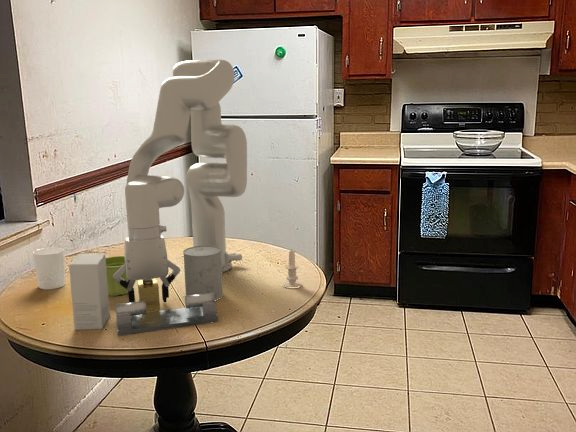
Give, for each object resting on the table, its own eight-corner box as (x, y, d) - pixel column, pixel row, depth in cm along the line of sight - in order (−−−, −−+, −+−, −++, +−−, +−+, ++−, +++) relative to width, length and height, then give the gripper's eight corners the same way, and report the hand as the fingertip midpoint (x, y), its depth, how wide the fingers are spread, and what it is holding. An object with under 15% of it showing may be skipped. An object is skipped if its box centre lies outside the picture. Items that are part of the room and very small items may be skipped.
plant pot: (123, 300, 144) (121, 267, 142) (91, 296, 146) (88, 264, 145) (143, 288, 152) (140, 257, 151) (112, 285, 155) (110, 254, 153)
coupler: (139, 303, 142) (137, 277, 140) (157, 301, 143) (155, 275, 142) (141, 312, 136) (139, 285, 135) (160, 309, 137) (158, 283, 136)
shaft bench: (210, 308, 138) (209, 286, 137) (217, 321, 129) (217, 299, 128) (116, 320, 131) (114, 297, 130) (118, 335, 123) (116, 311, 121)
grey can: (229, 292, 148) (227, 247, 146) (212, 305, 140) (210, 257, 137) (196, 288, 152) (194, 244, 149) (178, 301, 143) (175, 254, 140)
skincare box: (83, 316, 134) (77, 253, 130) (112, 315, 134) (106, 252, 131) (73, 331, 125) (66, 263, 122) (103, 329, 126) (98, 262, 123)
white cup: (56, 291, 151) (52, 255, 149) (30, 289, 152) (26, 254, 150) (73, 281, 158) (69, 247, 156) (48, 280, 160) (44, 246, 158)
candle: (282, 289, 151) (281, 251, 148) (283, 282, 156) (282, 246, 153) (301, 288, 150) (301, 251, 148) (302, 282, 155) (301, 246, 153)
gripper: (178, 226, 142) (182, 293, 145) (106, 232, 136) (112, 301, 140) (183, 233, 135) (186, 303, 138) (106, 239, 129) (112, 312, 133)
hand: (149, 302), depth 139 cm, fingers open, 6 cm apart
